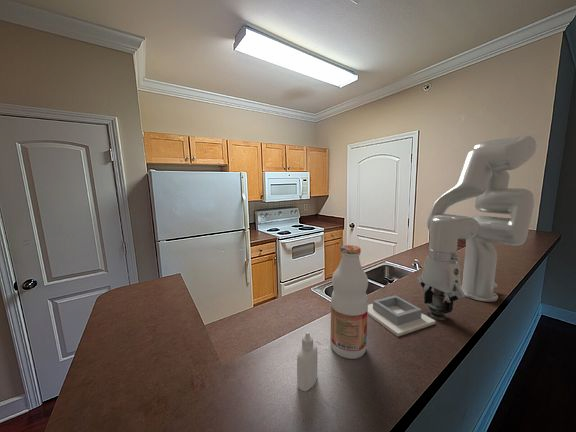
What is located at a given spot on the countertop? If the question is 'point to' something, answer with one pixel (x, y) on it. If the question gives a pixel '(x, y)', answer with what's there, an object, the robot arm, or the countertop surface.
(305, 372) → the eye dropper bottle
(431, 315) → the stone chess piece
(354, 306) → the fruit juice
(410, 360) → the countertop surface
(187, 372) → the countertop surface
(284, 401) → the countertop surface
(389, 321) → the socket
